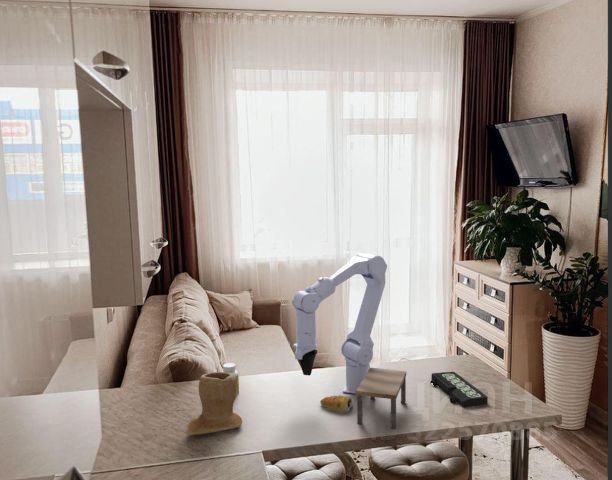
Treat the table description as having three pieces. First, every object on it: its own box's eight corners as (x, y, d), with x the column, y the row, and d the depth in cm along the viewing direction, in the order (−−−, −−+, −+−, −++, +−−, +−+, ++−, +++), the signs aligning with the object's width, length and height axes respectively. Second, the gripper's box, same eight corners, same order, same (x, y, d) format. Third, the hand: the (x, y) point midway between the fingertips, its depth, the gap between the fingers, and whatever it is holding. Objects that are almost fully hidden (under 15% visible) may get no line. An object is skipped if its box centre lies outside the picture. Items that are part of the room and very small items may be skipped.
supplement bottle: (237, 397, 164) (236, 368, 163) (220, 397, 164) (219, 368, 163) (240, 390, 169) (239, 361, 168) (223, 390, 169) (222, 362, 168)
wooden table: (370, 397, 161) (370, 367, 160) (406, 401, 157) (406, 371, 156) (356, 423, 144) (356, 390, 143) (396, 429, 141) (395, 395, 139)
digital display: (426, 372, 173) (454, 370, 175) (426, 381, 173) (453, 379, 175) (458, 398, 152) (488, 395, 154) (457, 409, 153) (488, 406, 155)
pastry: (317, 410, 154) (317, 397, 154) (324, 401, 160) (324, 389, 160) (347, 414, 151) (347, 402, 150) (354, 405, 157) (354, 393, 156)
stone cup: (237, 413, 153) (235, 364, 151) (245, 432, 142) (243, 379, 140) (184, 422, 148) (182, 371, 146) (188, 442, 137) (185, 387, 135)
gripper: (301, 323, 164) (303, 364, 166) (284, 337, 151) (286, 382, 152) (323, 325, 162) (324, 367, 163) (307, 339, 148) (308, 384, 150)
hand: (307, 374), depth 158 cm, fingers closed
